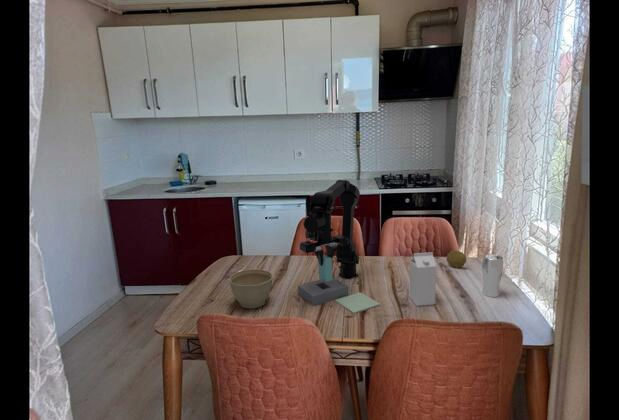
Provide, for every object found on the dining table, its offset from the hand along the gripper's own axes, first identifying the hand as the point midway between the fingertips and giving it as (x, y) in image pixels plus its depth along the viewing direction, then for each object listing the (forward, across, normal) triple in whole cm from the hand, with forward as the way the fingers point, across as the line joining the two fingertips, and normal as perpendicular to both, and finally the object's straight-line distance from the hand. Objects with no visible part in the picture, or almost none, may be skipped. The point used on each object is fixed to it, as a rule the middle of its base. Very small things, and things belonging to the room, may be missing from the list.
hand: (324, 264), depth 143 cm
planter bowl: (+13, +27, -10) cm, 31 cm away
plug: (+6, 0, 0) cm, 6 cm away
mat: (+13, -7, +12) cm, 19 cm away
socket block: (+13, +1, -1) cm, 13 cm away
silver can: (+13, -54, +33) cm, 65 cm away
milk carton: (+13, -28, +24) cm, 39 cm away
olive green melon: (+13, -66, +7) cm, 67 cm away
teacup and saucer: (+14, +23, -38) cm, 47 cm away
